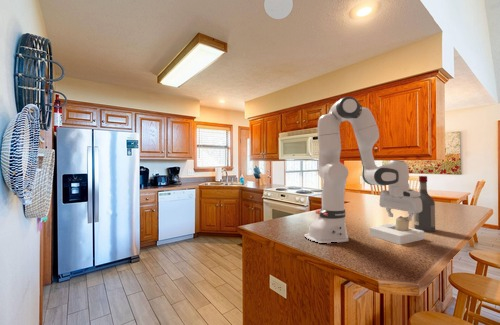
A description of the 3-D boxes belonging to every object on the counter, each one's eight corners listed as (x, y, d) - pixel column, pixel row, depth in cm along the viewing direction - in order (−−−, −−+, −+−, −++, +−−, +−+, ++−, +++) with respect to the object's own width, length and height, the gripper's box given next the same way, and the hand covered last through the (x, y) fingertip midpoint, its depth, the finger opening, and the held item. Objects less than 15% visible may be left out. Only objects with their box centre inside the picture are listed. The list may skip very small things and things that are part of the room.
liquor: (433, 228, 130) (432, 175, 131) (435, 232, 123) (434, 176, 123) (414, 226, 135) (412, 175, 136) (414, 230, 128) (413, 176, 128)
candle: (392, 234, 120) (393, 215, 119) (402, 233, 120) (404, 215, 119) (399, 238, 114) (401, 218, 113) (410, 238, 115) (412, 218, 114)
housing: (400, 244, 106) (399, 236, 106) (369, 235, 120) (369, 227, 120) (424, 239, 113) (424, 231, 113) (392, 230, 128) (392, 223, 128)
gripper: (376, 190, 126) (376, 215, 126) (415, 194, 108) (416, 223, 107) (384, 189, 129) (384, 214, 129) (424, 193, 110) (424, 222, 110)
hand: (399, 218), depth 118 cm, fingers open, 8 cm apart
